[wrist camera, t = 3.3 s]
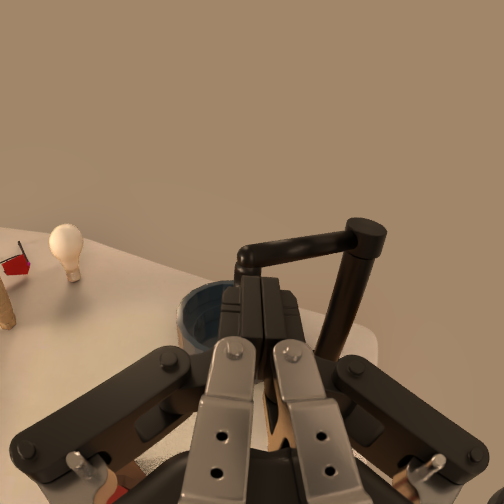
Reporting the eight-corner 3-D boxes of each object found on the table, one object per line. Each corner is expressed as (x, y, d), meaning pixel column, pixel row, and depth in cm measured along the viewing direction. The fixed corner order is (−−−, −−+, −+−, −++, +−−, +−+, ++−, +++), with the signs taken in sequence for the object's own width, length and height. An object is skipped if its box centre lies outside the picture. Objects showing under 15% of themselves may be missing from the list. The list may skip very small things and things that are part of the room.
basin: (308, 349, 40) (317, 317, 37) (231, 410, 31) (233, 381, 28) (235, 300, 49) (238, 269, 46) (159, 340, 39) (154, 307, 36)
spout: (348, 284, 33) (366, 215, 29) (371, 304, 30) (395, 233, 26) (223, 316, 27) (227, 232, 23) (241, 347, 24) (249, 258, 20)
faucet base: (349, 370, 37) (397, 254, 28) (325, 397, 33) (375, 275, 24) (314, 348, 41) (348, 232, 32) (288, 371, 37) (319, 248, 28)
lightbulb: (71, 268, 51) (60, 216, 46) (96, 274, 51) (87, 219, 45) (53, 286, 46) (39, 231, 40) (79, 293, 45) (65, 236, 40)
